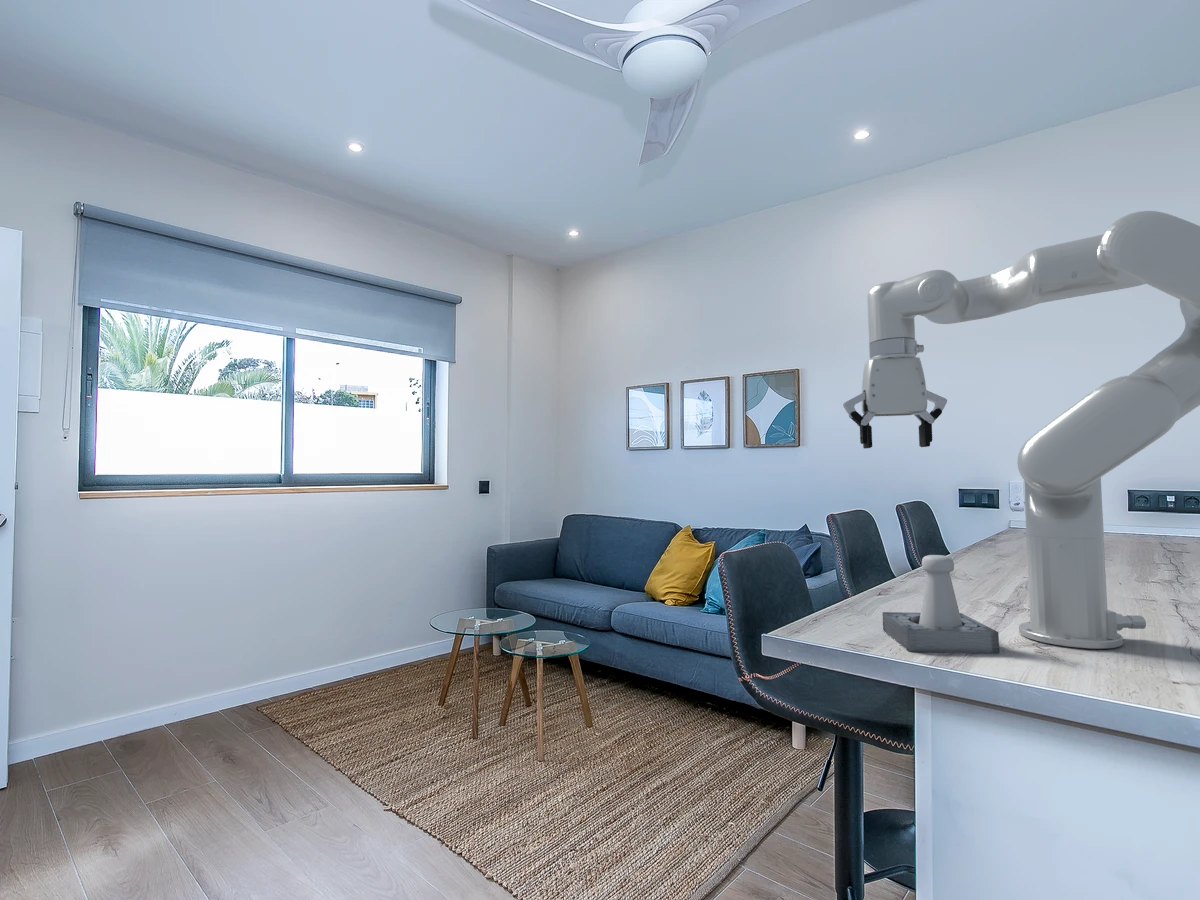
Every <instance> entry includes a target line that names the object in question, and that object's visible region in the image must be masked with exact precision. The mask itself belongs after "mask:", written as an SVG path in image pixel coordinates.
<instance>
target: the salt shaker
mask: <svg viewBox="0 0 1200 900" xmlns="http://www.w3.org/2000/svg"><path fill="white" fill-rule="evenodd" d="M921 568H922V570H923V571H925V572H926V580H925V585H924V590H923V598H922V603H921V609H920V613H921V614H920V620H919V624H920V625H924V626H932V627H950V628H954V627H961V626H963V625H962V621H961V617H960V613H961V612H960V611H959V610H960V609H959V605H958V601H957V598H956V593H955V590H954V589H955V588H954V586H953V582H952V577H951V573H952V572H953V571H954V569H955V563H954V559H953V558H951V557H950V556H948V555H942V554H928V555H925V556H923V557H922V559H921Z"/></svg>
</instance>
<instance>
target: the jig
mask: <svg viewBox="0 0 1200 900" xmlns="http://www.w3.org/2000/svg"><path fill="white" fill-rule="evenodd" d="M959 613H960V617H961V621H962V625H963V626H961V627H954V628H950V627H932V626H924V625H920V624H919V620H920V614H921V612H907V611H906V612H900V611H899V612H898V611H897V612H896V611H895V612H894V611H893V612H892V611H889V612H888V611H883V612H882V631H883V630H884V631H885V632H886V635H888V636H889V635H890V636H891V637H890V636H889V637H890V638H891V639H893V640H894V639H895V640H896V643H898V644H899V645H900V644H901V645H900V646H902V647H903V648H904V649H905V648H906V649H905V650H906V651H908V652H909V653H911V652H912V653H917V652H918V653H951V654H952V653H953V654H954V653H955V654H956V653H957V654H958V653H960V654H961V653H962V654H963V653H965V654H967V653H968V654H998V653H999V654H1000V640H999V634H1000V633H999V631H998V630H996V629H993V628H991V627H990V626H988V625H985V624H984V623H981V622H979V621H977V620H975V619H973V618H971V617H969V616H967V614H964V613H961V612H959ZM884 631H883V632H884ZM885 632H884V633H885ZM895 640H894V641H895Z"/></svg>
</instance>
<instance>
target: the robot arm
mask: <svg viewBox="0 0 1200 900" xmlns="http://www.w3.org/2000/svg"><path fill="white" fill-rule="evenodd" d="M1146 284H1147V285H1148V286H1151V287H1152V288H1155V289H1157V290H1159V291H1161V292H1163V293H1165V294H1167V295H1170V296H1171V297H1174V298H1175V299H1178V300H1179V308H1180V311H1181V315H1182V317H1183V319H1184V322H1185V323H1184V324H1185V325H1184V330H1183V332H1182V333H1181V335H1180V336H1179V337H1178V338H1177V339H1176V340H1175V341H1173V342H1172V343H1171V344H1170V345H1167V346H1166V347H1165V348H1164V349H1162V350H1161V351H1159V352H1158V353H1157V354H1155V356H1153V357H1152V358H1151V359H1149V360H1148V361H1147V362H1145V363H1143V364H1142V365H1141V366H1140V367H1138V368H1137V369H1136V370H1134V371H1132V373H1130V374H1128V375H1123V376H1119V377H1116V378H1113V379H1110V380H1108V381H1107V382H1104V383H1102V384H1101V385H1099V386H1098V387H1096V388H1095V389H1094V390H1092V391H1091V392H1089V393H1088V394H1087V395H1086V396H1084V397H1082V398H1081V399H1080V400H1079V401H1077V402H1076V403H1075V404H1073V405H1072V406H1071V407H1069V408H1068V409H1066V410H1065V411H1063V412H1062V414H1059V415H1058V416H1057V417H1056V418H1054V419H1053V420H1052V421H1051V422H1049V423H1048V424H1046V425H1045V426H1044V427H1042V428H1041V429H1040V430H1038V431H1037V432H1036V433H1034V434H1033V435H1031V436H1030V437H1029V438H1027V440H1026V441H1025V442H1024V443H1023V445H1022V446H1021V448H1020V450H1019V452H1018V455H1017V461H1016V462H1017V463H1016V464H1017V468H1018V471H1019V474H1020V477H1021V478H1022V479H1023V481H1024V506H1025V507H1024V510H1025V513H1024V514H1025V532H1026V533H1025V539H1026V543H1025V544H1026V559H1027V560H1026V562H1027V580H1028V581H1027V582H1028V600H1029V601H1028V603H1029V619H1030V621H1025V622H1022V623H1020V624H1019V625H1018V630H1019V631H1018V632H1019V633H1020V635H1021V636H1023V637H1025V638H1028V639H1030V640H1033V641H1037V642H1041V643H1044V644H1050V645H1055V646H1062V647H1069V648H1078V649H1079V648H1080V649H1094V650H1095V649H1096V650H1097V649H1099V650H1100V649H1101V650H1103V649H1104V650H1105V649H1115V648H1119V647H1121V646H1123V644H1124V638H1123V637H1124V636H1122V634H1120V633H1118V631H1122V630H1123V629H1130V630H1133V629H1135V630H1139V629H1140V630H1144V629H1145V628H1146V626H1147V622H1146V619H1145V617H1143V615H1128V614H1127V615H1123V614H1122V613H1118V612H1116V611H1113V610H1111V609H1108V593H1107V577H1106V561H1105V560H1106V559H1105V557H1106V556H1105V542H1104V541H1105V540H1104V539H1105V533H1104V530H1105V529H1104V517H1103V516H1104V513H1103V496H1102V495H1103V494H1102V477H1104V476H1105V475H1106V474H1108V473H1110V472H1111V471H1112V470H1113V469H1115V468H1118V466H1120V465H1121V464H1123V463H1125V462H1126V461H1128V460H1129V459H1130V458H1132V457H1133V456H1136V454H1138V453H1139V452H1142V450H1144V449H1146V448H1147V447H1149V446H1151V444H1153V443H1154V442H1156V441H1157V440H1158V439H1160V438H1162V437H1163V436H1164V435H1166V433H1167V434H1168V432H1169V431H1170V430H1171V429H1172V428H1173V427H1174V426H1175V424H1176V423H1177V422H1178V421H1179V420H1180V419H1182V418H1184V417H1185V416H1186V415H1188V414H1189V413H1191V412H1193V411H1194V410H1195V409H1196V408H1198V407H1200V225H1198V224H1196V223H1193V222H1191V221H1189V220H1186V219H1183V218H1181V217H1178V216H1175V215H1173V214H1169V213H1166V212H1163V211H1162V212H1161V211H1156V210H1140V211H1136V212H1132V213H1129V214H1127V215H1124V216H1122V217H1120V218H1118V219H1116V220H1115V221H1114V222H1113V223H1111V224H1110V225H1109V226H1108V227H1107V229H1106V230H1105V231H1104V232H1103V233H1102V234H1099V235H1095V236H1089V237H1085V238H1081V239H1077V240H1072V241H1066V242H1062V243H1057V244H1052V245H1048V246H1043V247H1038V248H1035V249H1033V250H1031V251H1029V252H1028V253H1026V254H1025V255H1023V256H1022V257H1020V258H1019V259H1018V260H1017V261H1015V262H1014V263H1013V264H1011V265H1010V266H1008V267H1005V268H1004V269H1001V270H1000V271H997V272H994V273H991V274H988V275H984V276H979V277H976V278H974V277H973V278H971V279H965V280H958V278H957V277H956V276H955V275H954V274H953V273H952V272H949V271H948V270H944V269H933V270H928V271H925V272H921V273H919V274H917V275H914V276H910V277H908V278H906V279H901V280H900V281H899V280H897V281H896V280H894V281H887V282H882V283H879V284H877V285H875V286H873V287H871V288H870V290H869V291H868V293H867V301H866V302H867V319H868V325H867V326H868V342H869V343H868V344H869V345H868V347H869V349H868V350H869V351H868V352H869V360H868V361H865V363H864V366H863V371H862V380H861V382H862V384H861V393H860V394H858V395H855V396H854V397H852V398H850V399H849V400H847V401H845V402H843V408H844V409H845V412H846V413H847V414H848V416H849V417H848V418H850V419H851V420H852V421H853V422H854V423H855V424H856V425H857V426H858V427H859V440H860V441H859V442H860V444H861V445H863V446H862V448H863V449H871V448H873V431H872V425H870V422H871V421H872V420H873V418H874V417H895V416H897V417H899V416H900V417H901V416H904V417H905V416H912V415H913V416H914V417H915V419H917V420H918V421H919V422H920V424H919V425H918V441H919V442H918V446H919V447H920V448H927V447H930V446H931V443H932V442H933V426H932V425H933V424H934V423H935V421H936V420H937V419H938V418H939V417H940V416H941V415H942V413H943V410H944V409H945V407H946V405H947V403H948V399H947V398H945V397H943V396H941V395H939V394H936V393H934V392H932V391H930V390H928V389H927V386H926V385H927V384H926V379H925V373H924V369H923V365H922V362H921V358H920V357H918V356H917V355H918V354H919V353H924V351H925V346H924V344H920V343H918V342H917V339H916V331H915V330H916V329H915V328H916V327H915V326H916V325H915V317H916V316H921V317H925V318H926V319H927V320H928V321H930V322H932V323H934V324H939V325H949V324H951V325H952V324H958V323H964V322H965V323H966V322H969V321H978V320H982V319H988V318H992V317H993V318H994V317H996V316H1001V315H1004V314H1007V313H1011V312H1015V311H1020V310H1022V309H1023V310H1024V309H1027V308H1030V307H1033V306H1036V305H1039V304H1044V303H1049V302H1054V301H1059V300H1060V301H1061V300H1066V299H1071V298H1076V297H1083V296H1089V295H1094V294H1100V293H1106V292H1113V291H1118V290H1124V289H1129V288H1134V287H1140V286H1142V285H1146ZM928 401H929V402H932V403H933V405H934V407H933V409H932V410H931V411H930V412H928V411H927V409H928ZM859 403H861V413H862V414H863V415H862V414H860V413H859V412H857V409H856V408H855V406H856V405H858V404H859Z"/></svg>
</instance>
